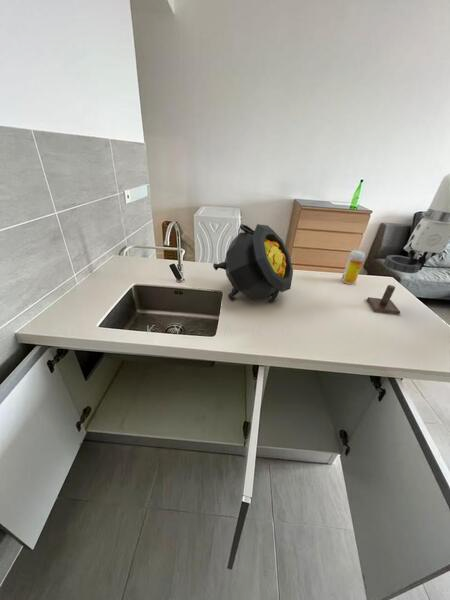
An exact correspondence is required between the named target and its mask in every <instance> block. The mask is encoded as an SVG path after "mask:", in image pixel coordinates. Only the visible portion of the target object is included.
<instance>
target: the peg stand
mask: <svg viewBox="0 0 450 600" xmlns="http://www.w3.org/2000/svg"><path fill="white" fill-rule="evenodd" d="M395 290H396V286H395V285H391V284H388V285H387V286H386V288H385V290H384V293H383V295H382V297H381V298H378V297H367V299H366V301H367V303H368V304H369V306H370V308H371V309H372V311H373V312H374V313H382V314H388V315H389V314H390V315H398V316H399V315H400V314H401V310H400V309H399V308H398V307H397V305H395V303H394V302H393V300H392V299H391V298H392V296H393V294H394V292H395Z"/></svg>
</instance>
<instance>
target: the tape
mask: <svg viewBox="0 0 450 600" xmlns="http://www.w3.org/2000/svg"><path fill="white" fill-rule="evenodd" d="M410 258H411V257H408V256H404V255H397V254H388V255H386V257H385V259H384V261H383V265H384V266H385V267H387V269H391V270H392V271H396V272H399V273H404V274H405V273H406V274H416V273H418V272H419V271H420V270H419V269H420V267H421V263H420V262H418V261H417V263H416V264H415V265H407V264H408V262H409V260H410Z"/></svg>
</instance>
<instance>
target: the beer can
mask: <svg viewBox="0 0 450 600" xmlns="http://www.w3.org/2000/svg"><path fill="white" fill-rule="evenodd" d="M365 258H366V253H365V252H364V251H363V250H359V249H352V250H351V252H350V253H349V255H348V259H347V261H346V265H345V268H344V270H343V274H342V275H341V276H342V277H341V281H342V282H343V283H344V284H347V285H353V284H355V283H356V282H357V278H358V276H359V273H360V270H361V268H362V265H363V262H364V260H365Z"/></svg>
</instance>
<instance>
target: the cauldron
mask: <svg viewBox="0 0 450 600" xmlns="http://www.w3.org/2000/svg"><path fill="white" fill-rule="evenodd" d="M239 229H240V230H241V231H243V232H239V233H238V234H237V235H236V236H235V237H234V238H233V239H232V241H231V243H230V244H229V246H228V249H227V251H226V254H225V259H224V261H222V262H220V263H215V262H214V263H213V264H212V267H213V269H214V270H215V271H217V270H219V269H222V270H224V271H225V276H226V278H227V279H228V281H229V283H230V285H231V286H232V289H231V292H230V293H228V295H227V297H228V299H229V300H230V301H233V300H234V299H235V296H236V295H237V294H239V293H241V294H242V295H243V296H246V298H249V299H250V300H253V301H254V300H255V301H256V300H259V301H260V300H261V301H262V300H266V299H269V298H270V302H271V303H274V302H275V301H276V299H277V297H278V295H279V294H280V293H284V292H287V291H289V290H291V287H292V282H293V275H294V269H293V264H292V260H291V255H290V253H289V251H288V249H287V247H286V245H285V243H284V240H283V239H282V237H280V236H279V235H278V234H277V233H276V231H275V230H274V229H273V228H272V227H270V226H269V225H266V224H259V223H257V224H256V226H255V229H252V227H250V226H248V225H247V224H239Z"/></svg>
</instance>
